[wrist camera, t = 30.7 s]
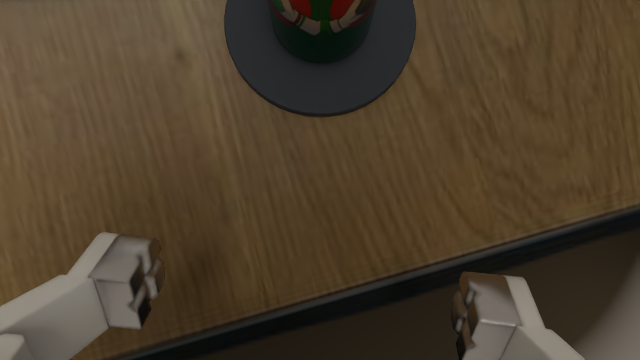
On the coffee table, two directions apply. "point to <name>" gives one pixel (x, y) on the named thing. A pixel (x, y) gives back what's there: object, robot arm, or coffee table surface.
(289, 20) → the soda can
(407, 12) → the coaster
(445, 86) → the coffee table surface
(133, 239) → the robot arm
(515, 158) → the coffee table surface
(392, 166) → the coffee table surface
